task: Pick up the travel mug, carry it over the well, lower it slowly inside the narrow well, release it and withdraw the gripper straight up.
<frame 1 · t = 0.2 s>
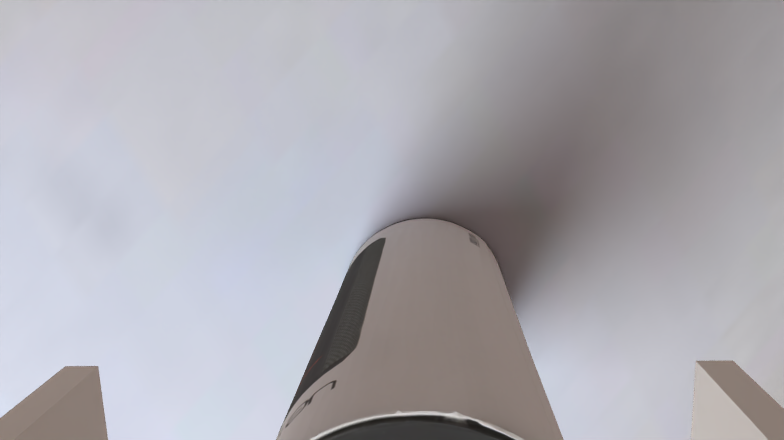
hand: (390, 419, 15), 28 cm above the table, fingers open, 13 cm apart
speaker: (426, 293, 44), on the table
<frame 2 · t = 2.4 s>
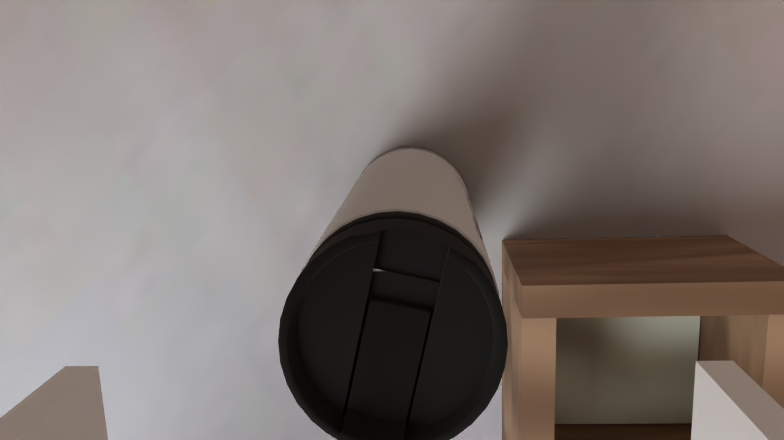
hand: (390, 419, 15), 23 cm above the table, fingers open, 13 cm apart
well: (609, 341, 38), on the table
travel mug: (409, 206, 37), on the table
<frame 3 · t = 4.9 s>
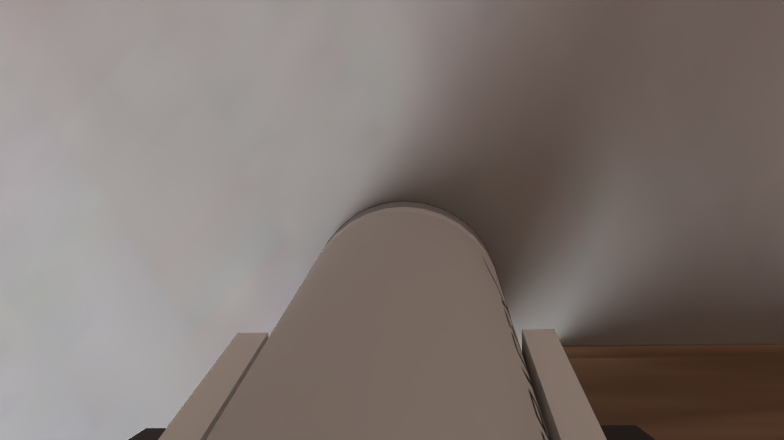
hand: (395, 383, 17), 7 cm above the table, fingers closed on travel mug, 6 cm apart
travel mug: (404, 292, 24), on the table, touching gripper
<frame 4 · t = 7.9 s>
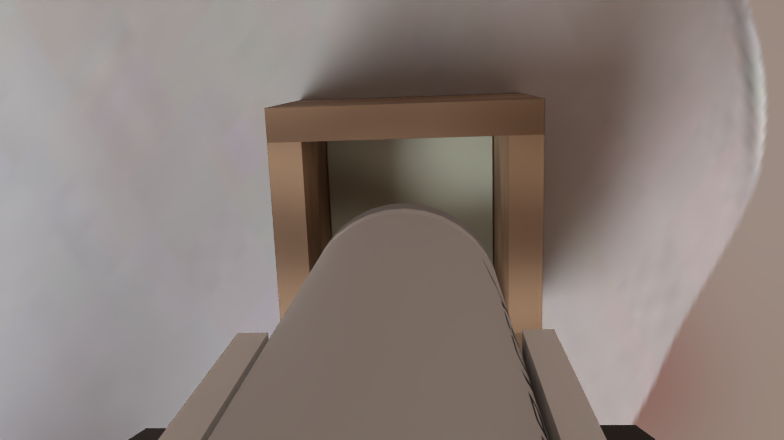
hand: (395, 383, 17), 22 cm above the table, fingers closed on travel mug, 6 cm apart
well: (411, 205, 38), on the table
travel mug: (404, 293, 24), point 15 cm above the table, touching gripper
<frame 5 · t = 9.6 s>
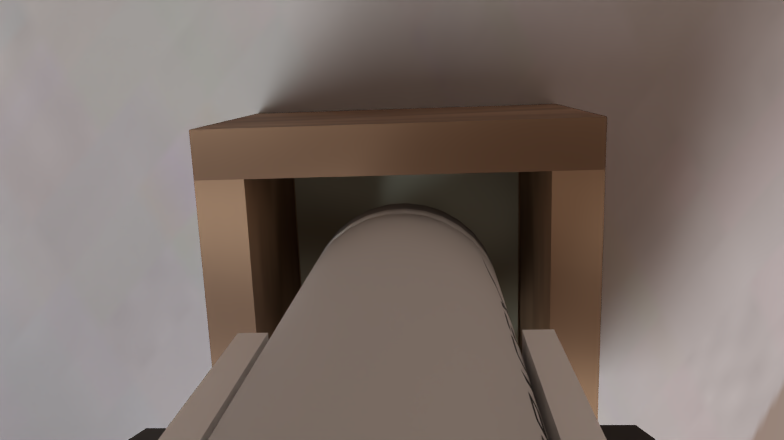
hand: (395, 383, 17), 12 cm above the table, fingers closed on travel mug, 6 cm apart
well: (408, 253, 28), on the table
travel mug: (404, 293, 24), point 5 cm above the table, touching gripper
when the fingers open (10 cm above the table, at t = 11.1 s): travel mug drops 2 cm, resting on well.
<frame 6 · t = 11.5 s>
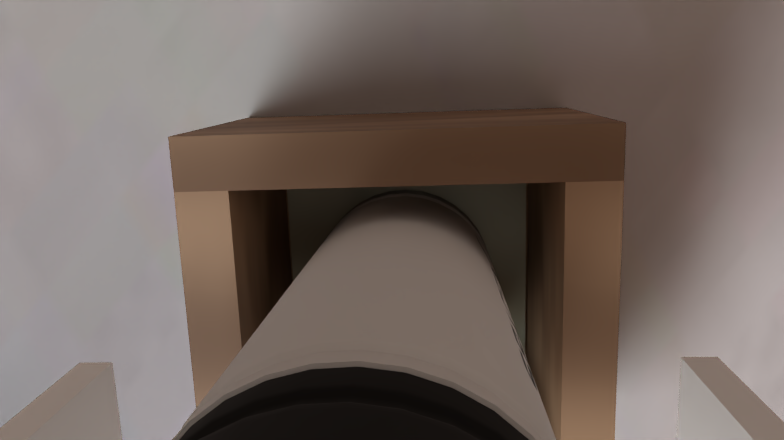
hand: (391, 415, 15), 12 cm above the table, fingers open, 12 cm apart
well: (409, 266, 27), on the table
travel mug: (405, 274, 26), point 1 cm above the table, touching well
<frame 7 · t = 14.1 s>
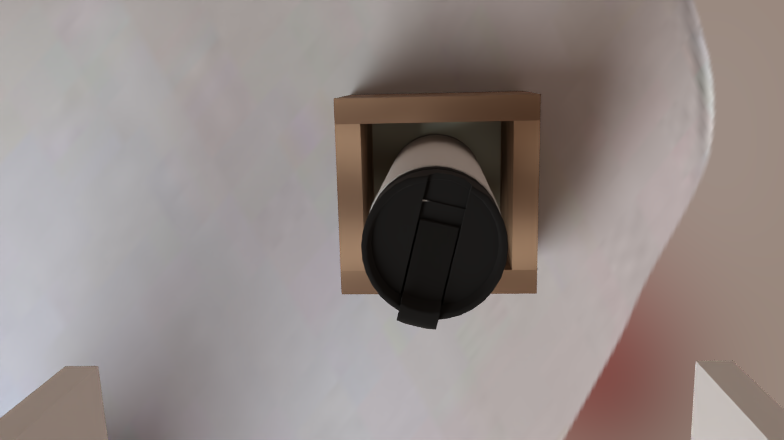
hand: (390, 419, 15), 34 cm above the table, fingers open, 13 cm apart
well: (436, 178, 48), on the table
travel mug: (435, 180, 47), point 1 cm above the table, touching well
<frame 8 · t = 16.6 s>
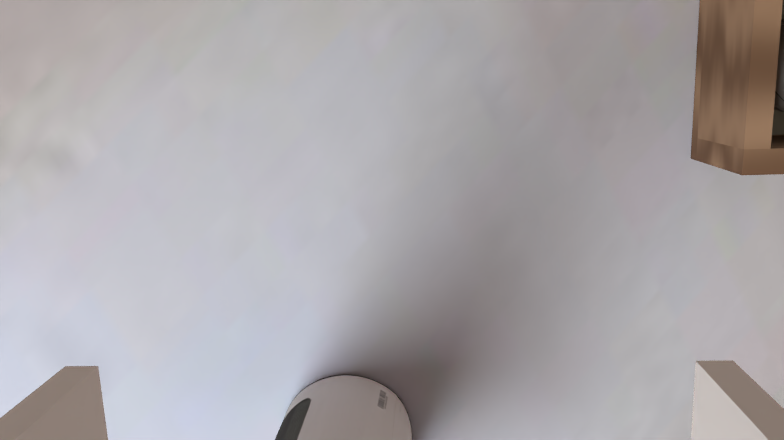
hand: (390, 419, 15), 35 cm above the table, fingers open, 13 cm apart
speaker: (350, 431, 54), on the table
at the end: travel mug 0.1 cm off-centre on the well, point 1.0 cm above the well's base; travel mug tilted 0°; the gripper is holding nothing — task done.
